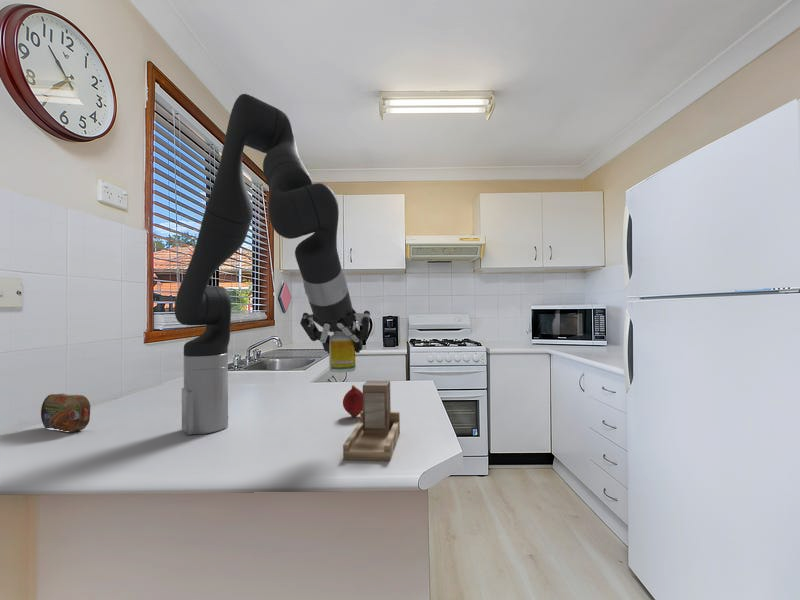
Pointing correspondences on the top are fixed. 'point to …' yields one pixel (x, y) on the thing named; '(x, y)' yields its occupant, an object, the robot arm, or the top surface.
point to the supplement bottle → (341, 353)
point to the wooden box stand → (374, 426)
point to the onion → (353, 401)
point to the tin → (65, 412)
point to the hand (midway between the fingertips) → (344, 349)
